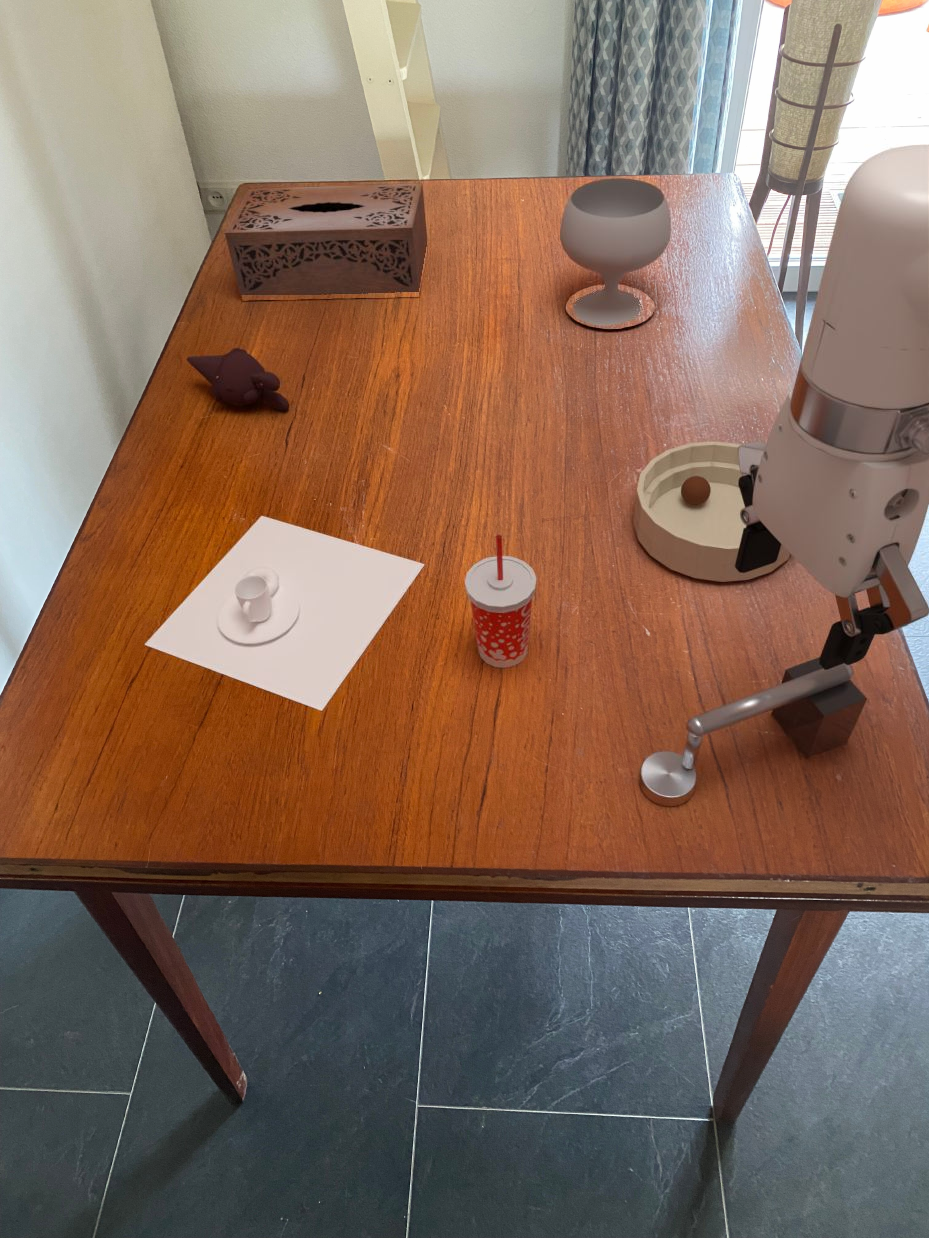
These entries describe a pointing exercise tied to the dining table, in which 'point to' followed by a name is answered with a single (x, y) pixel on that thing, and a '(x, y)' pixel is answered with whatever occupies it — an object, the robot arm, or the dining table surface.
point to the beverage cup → (501, 607)
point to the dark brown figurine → (239, 379)
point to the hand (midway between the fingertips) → (795, 610)
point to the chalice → (614, 241)
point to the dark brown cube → (820, 713)
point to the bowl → (695, 513)
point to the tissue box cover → (329, 239)
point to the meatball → (695, 490)
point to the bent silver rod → (675, 775)
